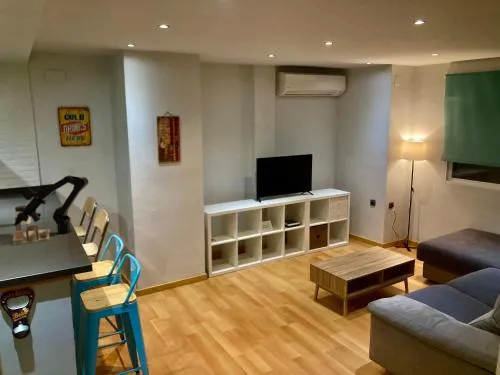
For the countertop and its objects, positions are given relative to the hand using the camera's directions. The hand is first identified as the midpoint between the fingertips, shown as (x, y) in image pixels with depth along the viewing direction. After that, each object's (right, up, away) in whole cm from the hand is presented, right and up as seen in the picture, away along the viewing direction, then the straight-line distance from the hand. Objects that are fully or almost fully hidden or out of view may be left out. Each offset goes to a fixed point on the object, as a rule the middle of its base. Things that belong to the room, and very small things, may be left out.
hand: (15, 224), depth 256 cm
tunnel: (+16, -7, -9) cm, 20 cm away
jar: (-12, -2, +32) cm, 34 cm away
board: (+12, -7, -3) cm, 14 cm away
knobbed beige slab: (+6, -7, -5) cm, 10 cm away
